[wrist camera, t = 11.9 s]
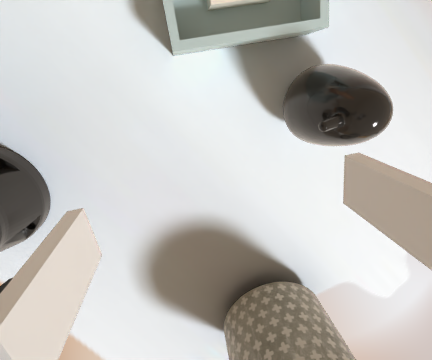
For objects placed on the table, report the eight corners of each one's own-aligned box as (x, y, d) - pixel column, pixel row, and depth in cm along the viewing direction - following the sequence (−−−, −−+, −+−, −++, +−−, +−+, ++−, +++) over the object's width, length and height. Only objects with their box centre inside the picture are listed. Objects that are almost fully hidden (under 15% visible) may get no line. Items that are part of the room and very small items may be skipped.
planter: (281, 350, 58) (322, 459, 42) (204, 330, 53) (217, 446, 36) (330, 286, 53) (400, 382, 37) (251, 257, 48) (291, 354, 31)
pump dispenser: (268, 73, 37) (324, 72, 23) (339, 58, 37) (436, 47, 23) (276, 143, 41) (328, 178, 27) (340, 128, 41) (423, 155, 27)
